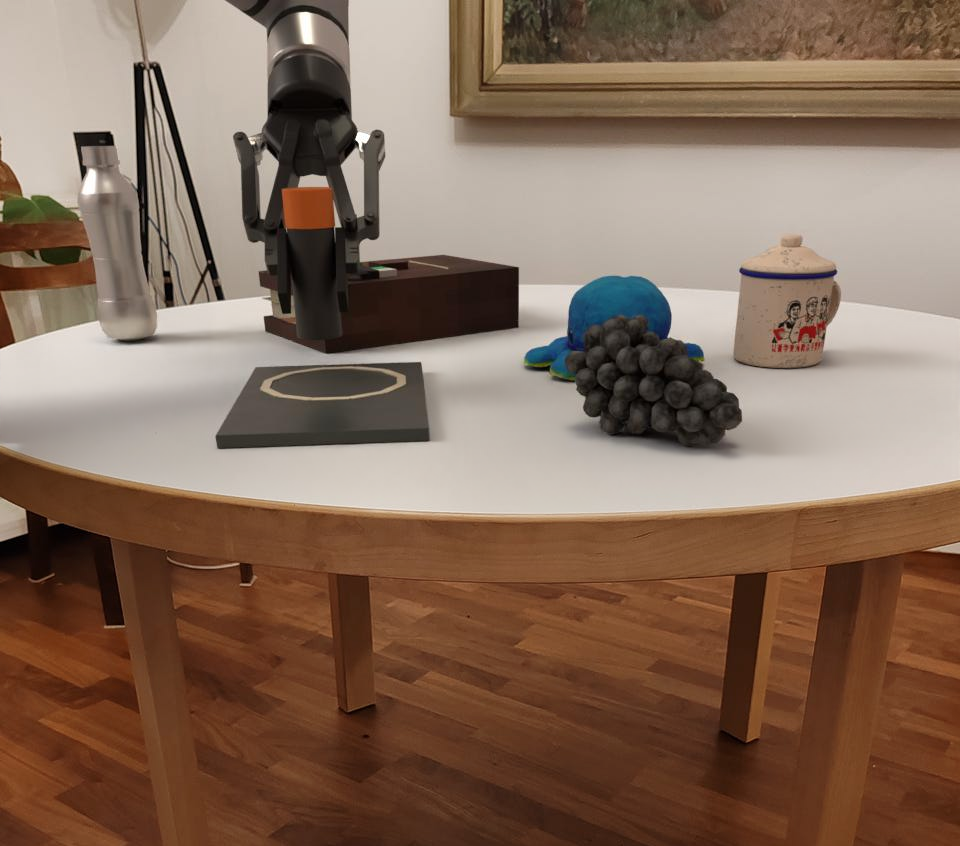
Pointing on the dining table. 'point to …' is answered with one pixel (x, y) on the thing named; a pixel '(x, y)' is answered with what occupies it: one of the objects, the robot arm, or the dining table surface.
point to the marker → (313, 261)
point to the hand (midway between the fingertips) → (313, 302)
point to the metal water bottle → (115, 246)
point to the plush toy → (598, 307)
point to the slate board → (328, 406)
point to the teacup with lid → (785, 306)
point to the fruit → (649, 384)
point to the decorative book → (412, 302)
